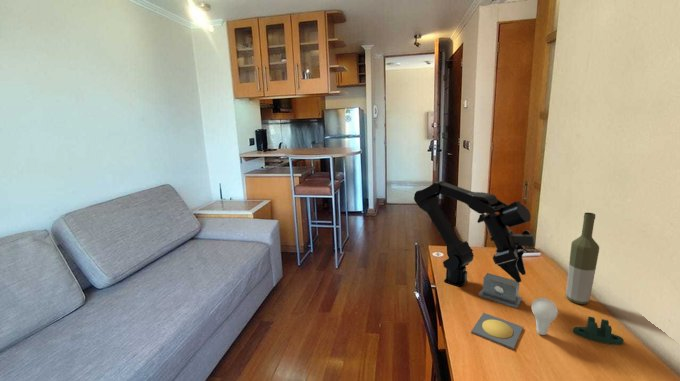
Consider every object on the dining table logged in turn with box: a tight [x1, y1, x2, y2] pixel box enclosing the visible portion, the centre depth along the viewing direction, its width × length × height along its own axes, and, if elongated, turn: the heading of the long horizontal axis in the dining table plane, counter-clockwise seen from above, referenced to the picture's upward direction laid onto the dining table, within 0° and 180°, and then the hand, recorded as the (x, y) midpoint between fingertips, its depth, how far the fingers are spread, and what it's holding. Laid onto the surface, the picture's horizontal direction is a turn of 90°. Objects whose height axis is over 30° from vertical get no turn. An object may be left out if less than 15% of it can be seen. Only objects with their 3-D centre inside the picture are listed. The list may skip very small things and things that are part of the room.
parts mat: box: [470, 312, 524, 351], centre depth 90 cm, size 11×11×1 cm
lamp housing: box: [478, 272, 523, 309], centre depth 105 cm, size 12×6×7 cm, turn 49°
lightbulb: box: [530, 297, 559, 336], centre depth 87 cm, size 6×6×11 cm
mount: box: [572, 316, 624, 346], centre depth 86 cm, size 11×4×5 cm, turn 62°
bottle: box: [565, 212, 600, 305], centre depth 100 cm, size 7×7×30 cm
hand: (522, 278), depth 97 cm, fingers open, 9 cm apart
